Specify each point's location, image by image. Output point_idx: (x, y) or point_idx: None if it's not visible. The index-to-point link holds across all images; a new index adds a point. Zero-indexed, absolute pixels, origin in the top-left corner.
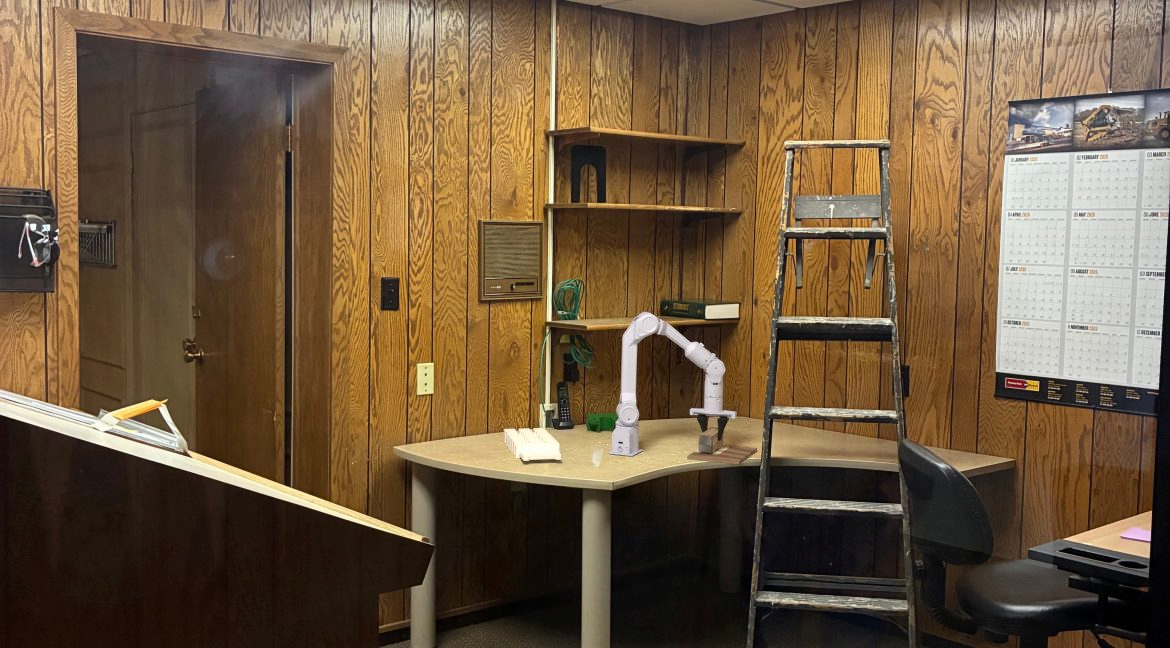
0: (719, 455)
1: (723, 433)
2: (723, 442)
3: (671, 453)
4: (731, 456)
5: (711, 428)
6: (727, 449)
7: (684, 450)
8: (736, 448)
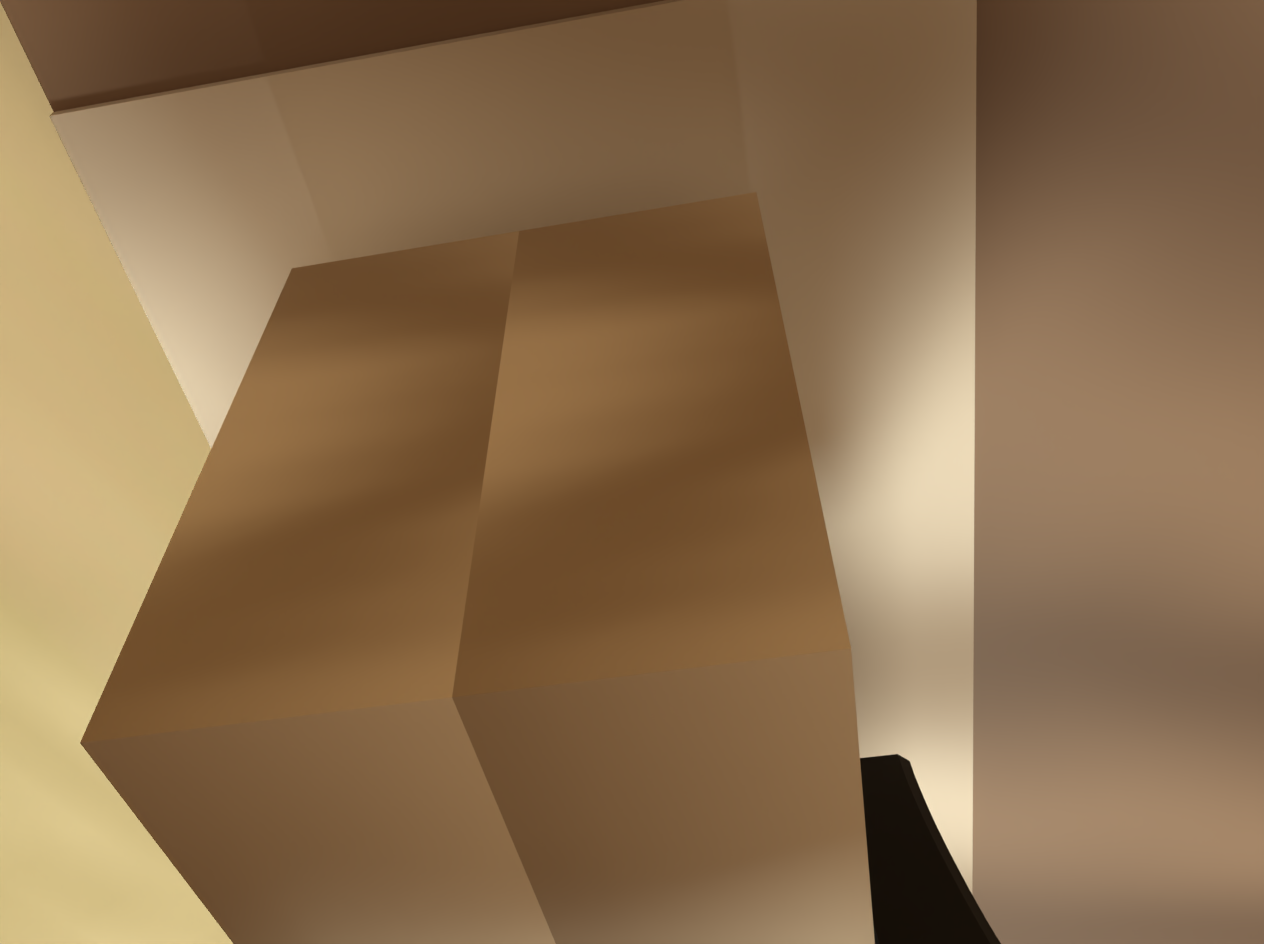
0: (1009, 937)
1: (812, 469)
2: (761, 220)
3: (74, 939)
4: (1255, 903)
5: (326, 935)
6: (994, 405)
7: (8, 672)
8: (1243, 101)
